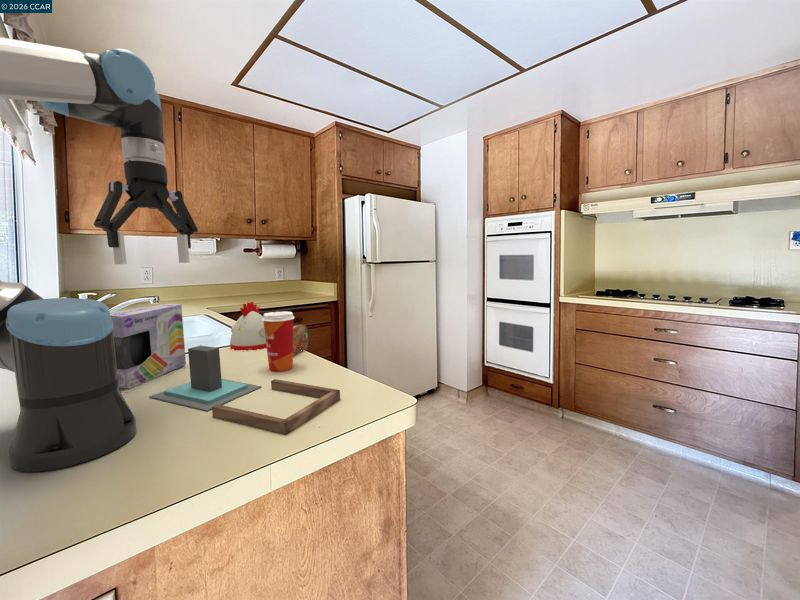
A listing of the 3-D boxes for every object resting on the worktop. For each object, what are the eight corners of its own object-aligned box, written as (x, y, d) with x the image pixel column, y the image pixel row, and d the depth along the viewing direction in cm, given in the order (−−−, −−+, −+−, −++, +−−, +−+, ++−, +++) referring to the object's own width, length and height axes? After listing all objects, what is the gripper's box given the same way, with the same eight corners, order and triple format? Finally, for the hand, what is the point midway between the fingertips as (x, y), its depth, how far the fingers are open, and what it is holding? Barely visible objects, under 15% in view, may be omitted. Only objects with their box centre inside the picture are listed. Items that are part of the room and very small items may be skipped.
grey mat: (207, 411, 70) (207, 410, 70) (149, 397, 78) (149, 396, 78) (261, 387, 83) (261, 386, 83) (207, 377, 90) (207, 376, 90)
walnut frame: (285, 434, 61) (285, 423, 61) (212, 416, 68) (211, 406, 68) (340, 399, 76) (339, 390, 75) (275, 387, 83) (274, 379, 83)
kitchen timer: (220, 349, 119) (217, 304, 117) (250, 340, 131) (248, 299, 130) (255, 352, 114) (252, 305, 112) (282, 342, 127) (280, 300, 125)
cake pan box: (125, 391, 82) (116, 314, 80) (106, 390, 83) (97, 314, 80) (188, 366, 101) (183, 303, 98) (172, 365, 101) (167, 303, 99)
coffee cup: (264, 365, 100) (261, 312, 98) (295, 362, 103) (293, 310, 101) (265, 374, 92) (261, 316, 90) (298, 370, 95) (295, 314, 93)
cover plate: (208, 404, 73) (205, 357, 72) (164, 394, 79) (160, 350, 77) (247, 387, 82) (245, 345, 81) (205, 380, 88) (202, 340, 87)
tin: (288, 360, 105) (286, 331, 104) (278, 359, 106) (276, 331, 105) (310, 347, 120) (309, 322, 119) (301, 346, 120) (300, 322, 119)
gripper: (84, 145, 64) (98, 265, 67) (209, 173, 87) (216, 262, 89) (62, 150, 67) (76, 265, 70) (188, 176, 90) (195, 262, 92)
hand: (154, 263), depth 80 cm, fingers open, 13 cm apart
